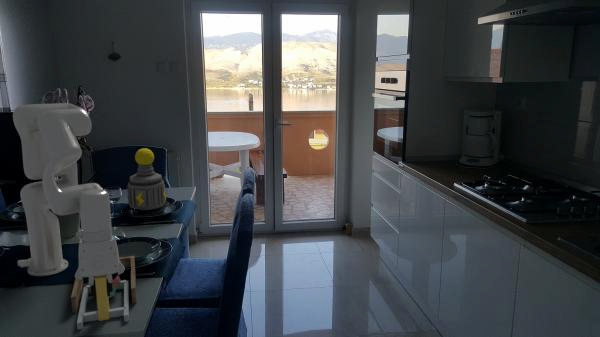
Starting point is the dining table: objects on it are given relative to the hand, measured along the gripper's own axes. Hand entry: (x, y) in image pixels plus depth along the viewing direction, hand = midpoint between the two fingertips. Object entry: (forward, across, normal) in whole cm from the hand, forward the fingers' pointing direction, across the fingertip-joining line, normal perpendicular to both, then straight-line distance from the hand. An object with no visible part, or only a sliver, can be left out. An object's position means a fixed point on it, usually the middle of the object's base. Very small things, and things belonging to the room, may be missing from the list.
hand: (102, 294), depth 129 cm
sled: (+7, 0, +7) cm, 10 cm away
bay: (+7, 0, +18) cm, 20 cm away
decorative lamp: (+8, +16, +109) cm, 110 cm away
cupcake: (+7, 0, +14) cm, 16 cm away
